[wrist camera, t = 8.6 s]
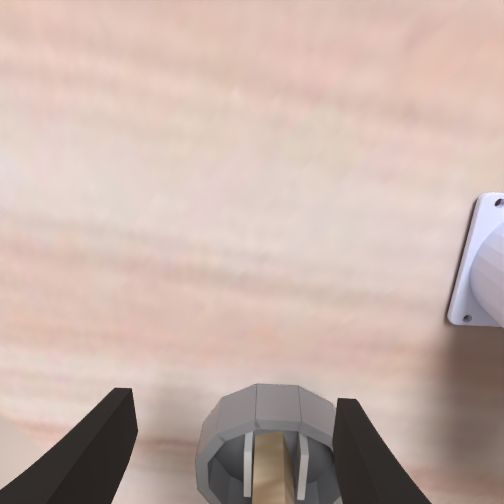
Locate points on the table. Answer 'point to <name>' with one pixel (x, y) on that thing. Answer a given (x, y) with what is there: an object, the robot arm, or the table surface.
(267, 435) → the wooden jenga block
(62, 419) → the table surface
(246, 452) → the grey round bowl
